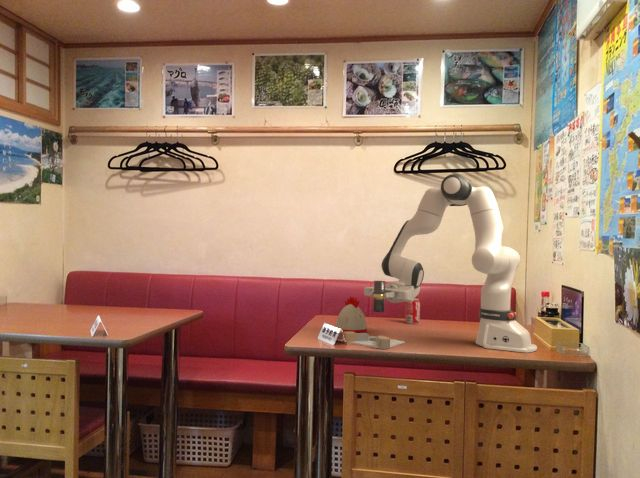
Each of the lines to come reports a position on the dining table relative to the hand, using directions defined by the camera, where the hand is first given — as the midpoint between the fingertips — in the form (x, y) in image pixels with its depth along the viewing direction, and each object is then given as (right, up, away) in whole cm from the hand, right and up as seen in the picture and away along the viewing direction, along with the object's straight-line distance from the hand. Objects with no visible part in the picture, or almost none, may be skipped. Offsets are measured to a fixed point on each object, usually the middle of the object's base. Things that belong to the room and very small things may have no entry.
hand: (378, 294), depth 198 cm
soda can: (+22, -20, +48) cm, 56 cm away
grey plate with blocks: (-3, -19, -1) cm, 19 cm away
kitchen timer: (-9, -19, +23) cm, 31 cm away
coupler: (0, -7, +1) cm, 7 cm away
